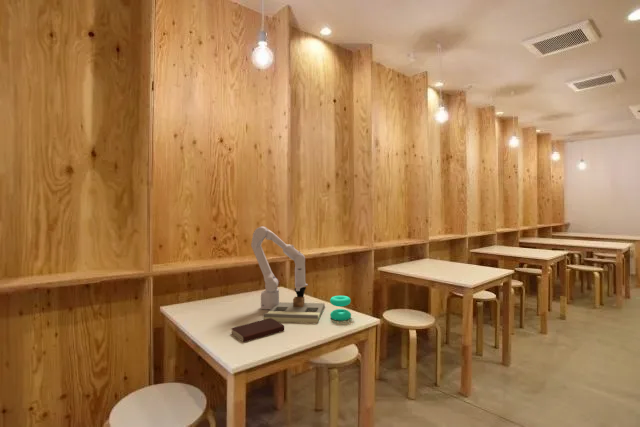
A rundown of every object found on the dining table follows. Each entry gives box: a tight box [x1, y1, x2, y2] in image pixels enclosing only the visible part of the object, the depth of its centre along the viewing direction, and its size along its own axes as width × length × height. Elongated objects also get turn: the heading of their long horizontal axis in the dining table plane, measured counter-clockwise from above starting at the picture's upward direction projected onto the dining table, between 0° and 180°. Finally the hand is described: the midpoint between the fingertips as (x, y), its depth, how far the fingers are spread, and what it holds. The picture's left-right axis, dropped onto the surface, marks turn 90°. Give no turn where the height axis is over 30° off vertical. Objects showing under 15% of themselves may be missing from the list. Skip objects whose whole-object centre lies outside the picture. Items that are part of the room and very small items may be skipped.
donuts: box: [329, 295, 352, 322], centre depth 162 cm, size 10×10×10 cm
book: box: [231, 318, 285, 343], centre depth 145 cm, size 12×19×3 cm, turn 128°
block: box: [292, 296, 305, 307], centre depth 177 cm, size 5×5×4 cm
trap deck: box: [262, 301, 326, 324], centre depth 170 cm, size 26×25×4 cm
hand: (300, 301), depth 182 cm, fingers closed
